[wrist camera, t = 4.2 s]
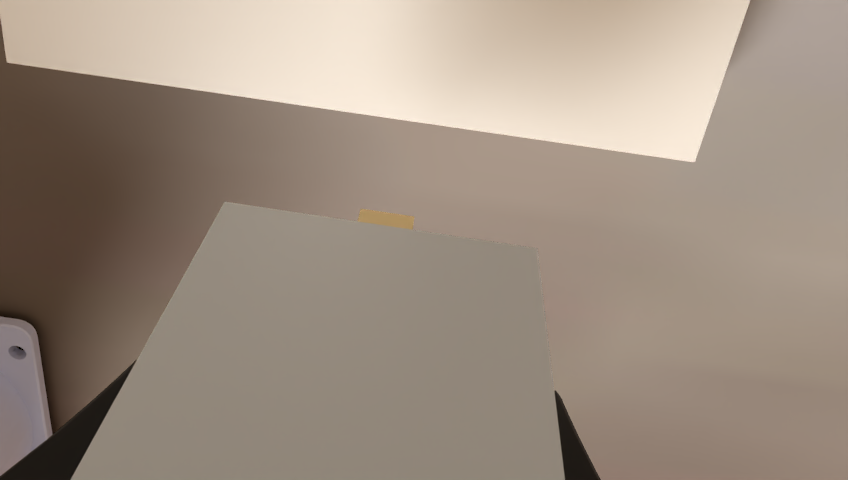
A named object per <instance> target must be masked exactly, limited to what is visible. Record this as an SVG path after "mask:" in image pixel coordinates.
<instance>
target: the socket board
mask: <svg viewBox="0 0 848 480" xmlns="http://www.w3.org/2000/svg"><path fill="white" fill-rule="evenodd" d="M749 3H750V0H0V19H1V26H2V33H3V40H4V46H5V53H6V60H7V63H13V64H20V65H27V66H34V67H41V68H47V69H54V70H61V71H68V72H75V73H82V74H89V75H96V76H103V77H110V78H116V79H123V80H130V81H137V82H144V83H151V84H158V85H165V86H172V87H179V88H185V89H192V90H199V91H206V92H213V93H220V94H227V95H234V96H241V97H248V98H255V99H261V100H268V101H275V102H282V103H289V104H296V105H303V106H310V107H317V108H324V109H330V110H337V111H344V112H351V113H358V114H365V115H372V116H379V117H386V118H393V119H399V120H406V121H413V122H420V123H427V124H434V125H441V126H448V127H455V128H462V129H468V130H475V131H482V132H489V133H496V134H503V135H510V136H517V137H524V138H531V139H538V140H544V141H551V142H558V143H565V144H572V145H579V146H586V147H593V148H600V149H607V150H613V151H620V152H627V153H634V154H641V155H648V156H655V157H662V158H669V159H676V160H682V161H689V162H695V159H696V157H697V154H698V151H699V148H700V145H701V142H702V139H703V136H704V133H705V130H706V128H707V125H708V122H709V119H710V116H711V113H712V110H713V107H714V104H715V101H716V98H717V96H718V93H719V90H720V87H721V84H722V81H723V78H724V75H725V72H726V69H727V67H728V64H729V61H730V58H731V55H732V52H733V49H734V46H735V43H736V40H737V37H738V35H739V32H740V29H741V26H742V23H743V20H744V17H745V14H746V11H747V8H748V6H749Z"/></svg>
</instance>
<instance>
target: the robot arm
mask: <svg viewBox="0 0 848 480" xmlns="http://www.w3.org/2000/svg"><path fill="white" fill-rule="evenodd" d="M16 346H18V347H21V348H22V349H23V350H24V351H22V350H20V349H19V348H17V347H16ZM136 361H137V360H136ZM136 361H135V362H136ZM135 362H134V363H133V364H132V365H131V366H129V367H128V368H127V369H126V370H125V371H124V372H123V373H122V374H121V375H120V376H119V377H118V378H117V379H116V380H114V381H113V382H112V383H111V384H110V385H109V386H108V387H107V388H106V389H105V390H104V391H102V392H101V393H100V394H99V395H98V396H97V397H96V398H95V399H93V400H92V401H91V402H90V403H89V404H88V405H87V406H85V407H84V408H83V409H82V410H81V411H80V412H78V413H77V414H76V415H75V416H74V417H73V418H72V419H70V420H69V421H68V422H67V423H66V424H65V425H63V426H62V427H61V428H60V429H59V430H58V431H56V432H55V433H54V434H53V435H52V428H51V422H50V415H49V408H48V402H47V395H46V389H45V382H44V375H43V369H42V362H41V355H40V349H39V342H38V336H37V333H36V330H35V329H34V327H33V326H32V325H31V324H29V323H28V322H26V321H23V320H20V319H14V318H6V317H0V480H71V478H72V476H73V474H74V473H75V471H76V469H77V467H78V465H79V464H80V462H81V460H82V458H83V456H84V455H85V453H86V451H87V449H88V447H89V445H90V444H91V442H92V440H93V438H94V436H95V435H96V433H97V431H98V429H99V427H100V426H101V424H102V422H103V420H104V418H105V417H106V415H107V413H108V411H109V409H110V408H111V406H112V404H113V402H114V400H115V399H116V397H117V395H118V393H119V391H120V390H121V388H122V386H123V384H124V382H125V381H126V379H127V377H128V375H129V373H130V371H131V370H132V368H133V366H134V364H135ZM554 392H555V401H556V409H557V417H558V426H559V434H560V442H561V451H562V459H563V468H564V476H565V480H601V479H600V478H599V476H598V474H597V472H596V470H595V468H594V466H593V464H592V462H591V460H590V458H589V456H588V454H587V452H586V450H585V448H584V446H583V444H582V442H581V440H580V438H579V436H578V434H577V432H576V430H575V428H574V426H573V423H572V421H571V419H570V417H569V415H568V412H567V410H566V408H565V406H564V404H563V401H562V399H561V397H560V396H559V394H558V393H557V392H556V391H555V390H554Z"/></svg>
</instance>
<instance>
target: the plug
mask: <svg viewBox="0 0 848 480" xmlns="http://www.w3.org/2000/svg"><path fill="white" fill-rule="evenodd" d="M413 222H414V217H413V216H406V215H399V214H393V213H386V212H379V211H373V210H366V209H361V210H360V214H359V218H358V221H351V220H345V219H338V218H331V217H324V216H318V215H311V214H304V213H298V212H291V211H284V210H278V209H271V208H264V207H257V206H251V205H244V204H237V203H231V202H224V204H223V205H222V207H221V209H220V211H219V213H218V214H217V216H216V218H215V220H214V222H213V224H212V225H211V227H210V229H209V231H208V233H207V234H206V236H205V238H204V240H203V242H202V243H201V245H200V247H199V249H198V251H197V252H196V254H195V256H194V258H193V260H192V261H191V263H190V265H189V267H188V269H187V270H186V272H185V274H184V276H183V278H182V279H181V281H180V283H179V285H178V287H177V288H176V290H175V292H174V294H173V296H172V298H171V299H170V301H169V303H168V305H167V307H166V308H165V310H164V312H163V314H162V316H161V317H160V319H159V321H158V323H157V325H156V326H155V328H154V330H153V332H152V334H151V335H150V337H149V339H148V341H147V343H146V344H145V346H144V348H143V350H142V352H141V353H140V355H139V357H138V359H137V361H136V362H135V364H134V366H133V368H132V370H131V371H130V373H129V375H128V377H127V379H126V381H125V382H124V384H123V386H122V388H121V390H120V391H119V393H118V395H117V397H116V399H115V400H114V402H113V404H112V406H111V408H110V409H109V411H108V413H107V415H106V417H105V418H104V420H103V422H102V424H101V426H100V427H99V429H98V431H97V433H96V435H95V436H94V438H93V440H92V442H91V444H90V445H89V447H88V449H87V451H86V453H85V455H84V456H83V458H82V460H81V462H80V464H79V465H78V467H77V469H76V471H75V473H74V474H73V476H72V478H71V480H565V476H564V468H563V459H562V451H561V442H560V434H559V426H558V417H557V409H556V401H555V392H554V384H553V375H552V367H551V359H550V350H549V342H548V334H547V325H546V317H545V308H544V300H543V292H542V283H541V275H540V266H539V258H538V250H537V248H532V247H525V246H519V245H512V244H505V243H499V242H492V241H485V240H479V239H472V238H465V237H458V236H452V235H445V234H438V233H432V232H425V231H418V230H413Z"/></svg>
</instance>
